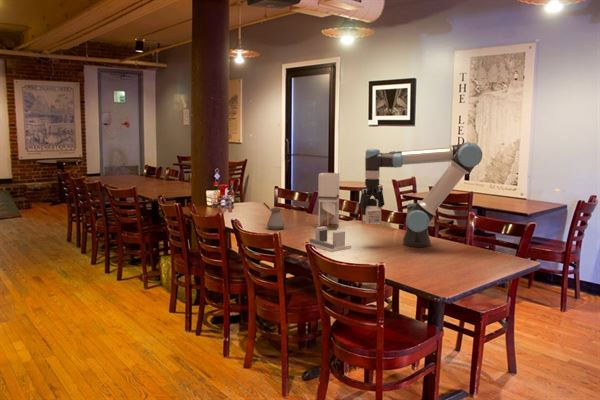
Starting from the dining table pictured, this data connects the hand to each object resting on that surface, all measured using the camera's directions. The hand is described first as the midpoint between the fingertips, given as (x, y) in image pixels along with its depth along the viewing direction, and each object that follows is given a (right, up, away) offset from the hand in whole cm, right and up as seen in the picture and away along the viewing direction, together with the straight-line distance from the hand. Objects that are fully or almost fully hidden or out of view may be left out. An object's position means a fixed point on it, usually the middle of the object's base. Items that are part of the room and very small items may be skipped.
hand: (371, 219), depth 283 cm
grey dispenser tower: (-21, -8, +53) cm, 57 cm away
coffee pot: (-57, -7, +54) cm, 79 cm away
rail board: (-22, -15, +3) cm, 27 cm away
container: (0, -2, 0) cm, 2 cm away
